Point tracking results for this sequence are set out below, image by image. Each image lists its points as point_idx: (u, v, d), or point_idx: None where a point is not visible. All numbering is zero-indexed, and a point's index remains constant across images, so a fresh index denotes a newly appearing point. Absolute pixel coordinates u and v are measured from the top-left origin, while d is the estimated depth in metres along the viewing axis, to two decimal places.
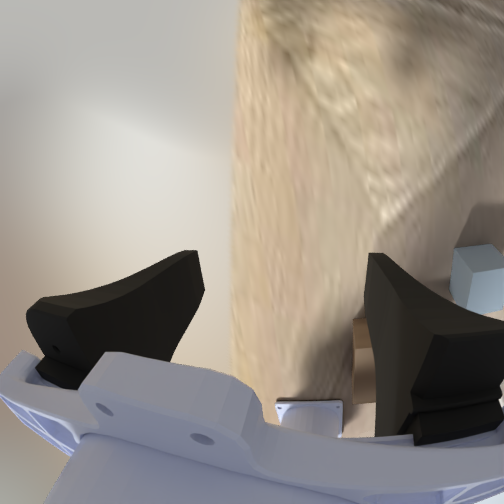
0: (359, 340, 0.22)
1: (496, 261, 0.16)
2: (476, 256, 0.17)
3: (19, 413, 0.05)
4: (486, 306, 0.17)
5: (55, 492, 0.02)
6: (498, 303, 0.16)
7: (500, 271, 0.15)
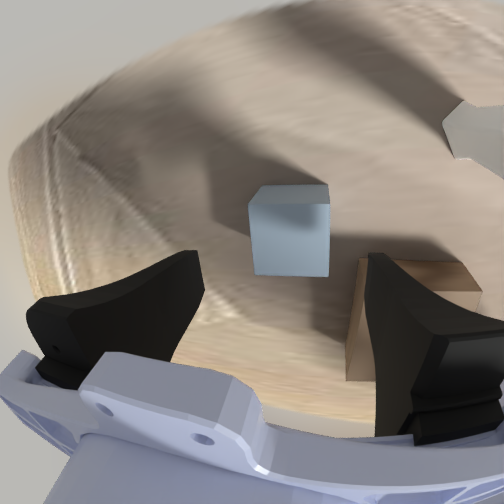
0: (346, 368, 0.19)
1: None
2: None
3: (19, 413, 0.05)
4: (316, 240, 0.14)
5: (55, 492, 0.02)
6: (314, 216, 0.14)
7: (255, 228, 0.15)
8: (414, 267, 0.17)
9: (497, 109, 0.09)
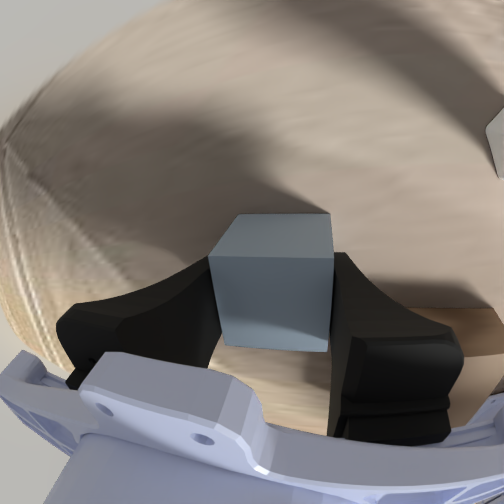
0: None
1: None
2: None
3: (19, 413, 0.05)
4: (311, 307, 0.10)
5: (55, 492, 0.02)
6: (309, 276, 0.09)
7: (221, 289, 0.10)
8: (439, 319, 0.12)
9: None
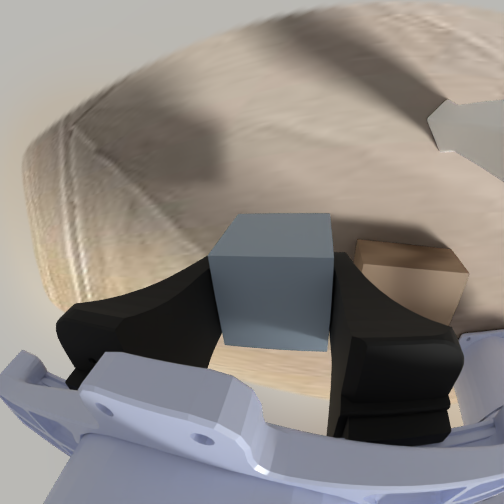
0: None
1: None
2: None
3: (19, 413, 0.05)
4: (311, 307, 0.10)
5: (55, 492, 0.02)
6: (309, 275, 0.09)
7: (221, 288, 0.10)
8: (407, 249, 0.19)
9: (474, 106, 0.11)
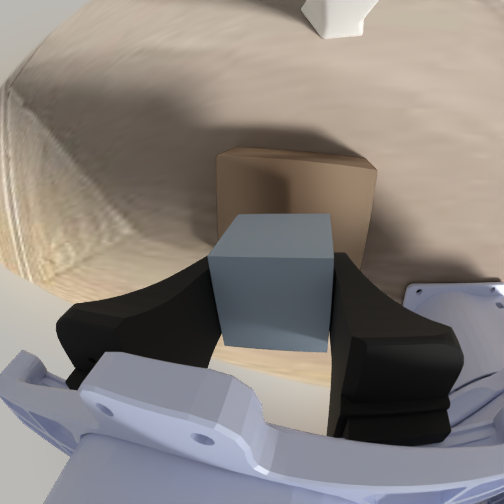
0: None
1: None
2: None
3: (19, 413, 0.05)
4: (311, 307, 0.10)
5: (55, 492, 0.02)
6: (309, 276, 0.09)
7: (221, 289, 0.10)
8: (294, 152, 0.16)
9: None
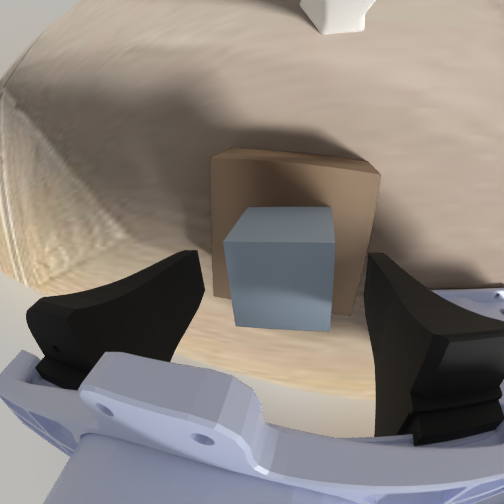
0: None
1: None
2: None
3: (19, 413, 0.05)
4: (315, 288, 0.11)
5: (55, 492, 0.02)
6: (313, 259, 0.10)
7: (234, 272, 0.11)
8: (293, 154, 0.15)
9: None
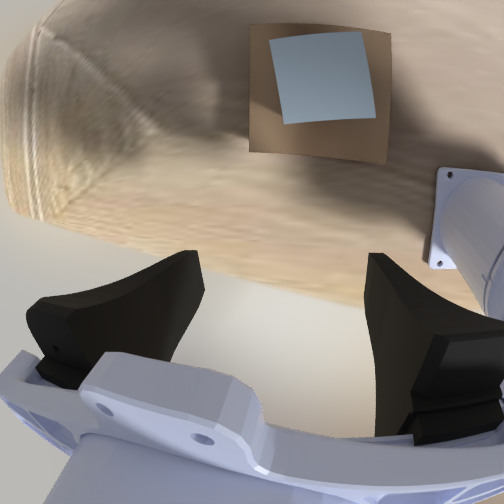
0: None
1: None
2: None
3: (19, 413, 0.05)
4: (353, 71, 0.10)
5: (55, 492, 0.02)
6: (346, 45, 0.09)
7: (280, 64, 0.11)
8: None
9: None
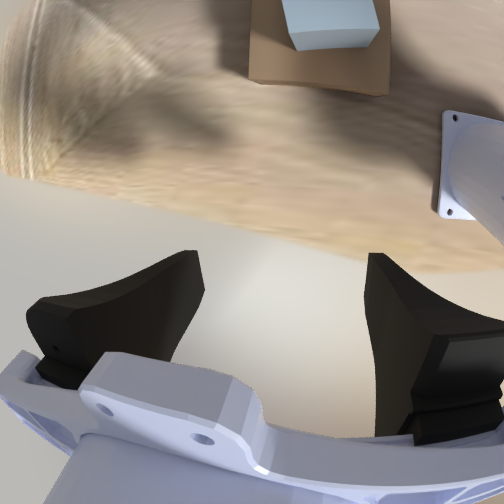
0: None
1: None
2: None
3: (19, 413, 0.05)
4: None
5: (55, 492, 0.02)
6: None
7: None
8: None
9: None
